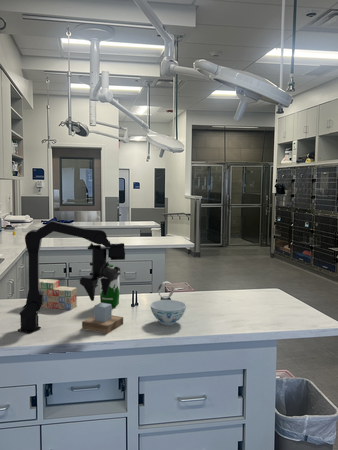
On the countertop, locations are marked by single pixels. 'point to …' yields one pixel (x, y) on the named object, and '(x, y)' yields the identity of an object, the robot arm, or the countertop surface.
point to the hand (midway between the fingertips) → (99, 297)
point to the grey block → (102, 312)
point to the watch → (162, 289)
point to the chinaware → (168, 311)
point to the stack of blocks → (57, 295)
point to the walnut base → (102, 324)
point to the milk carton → (111, 293)
